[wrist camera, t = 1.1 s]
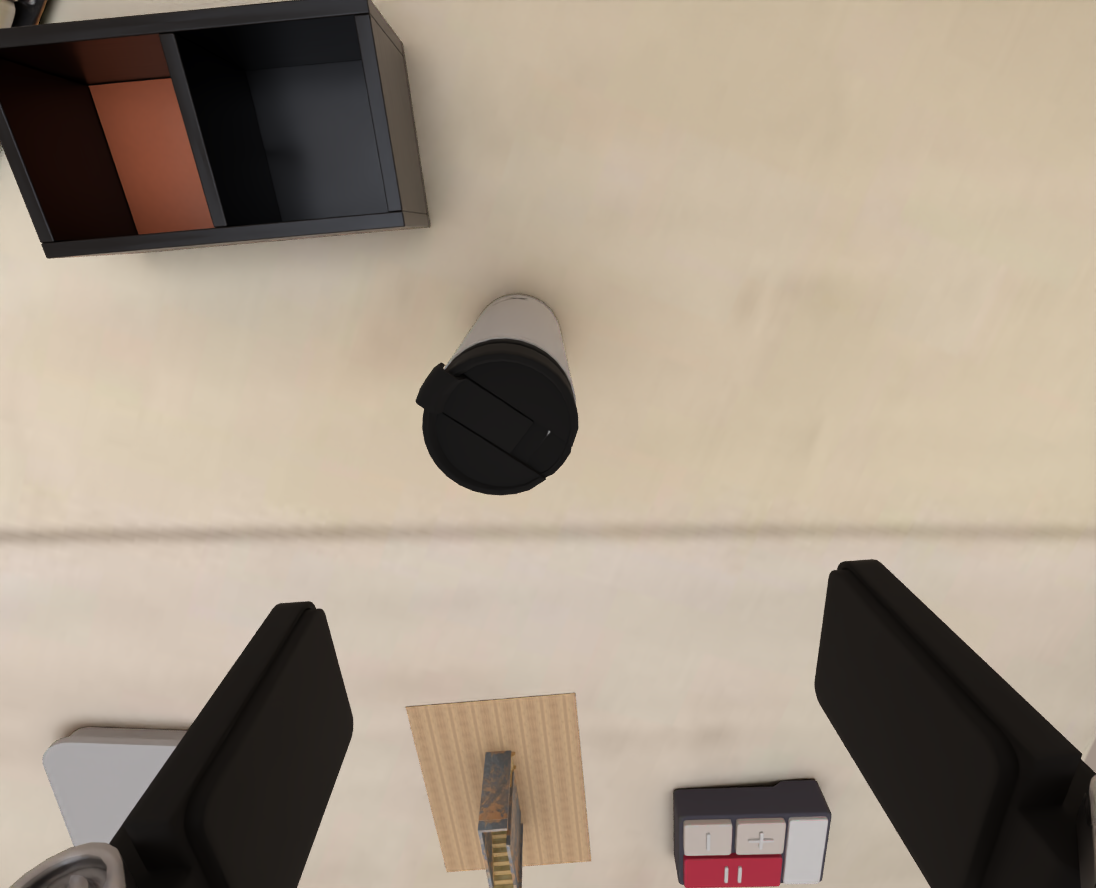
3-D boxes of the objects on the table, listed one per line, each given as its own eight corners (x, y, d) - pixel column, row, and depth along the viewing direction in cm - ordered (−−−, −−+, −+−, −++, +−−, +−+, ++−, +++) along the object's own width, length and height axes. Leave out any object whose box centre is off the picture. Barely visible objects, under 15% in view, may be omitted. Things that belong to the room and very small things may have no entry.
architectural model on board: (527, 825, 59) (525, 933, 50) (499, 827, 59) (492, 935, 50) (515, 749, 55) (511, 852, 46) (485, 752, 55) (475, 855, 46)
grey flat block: (114, 890, 62) (99, 913, 60) (54, 720, 52) (34, 741, 50) (259, 893, 63) (250, 917, 60) (227, 726, 53) (214, 747, 51)
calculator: (679, 824, 54) (836, 820, 53) (672, 783, 58) (817, 778, 57) (680, 893, 58) (825, 891, 57) (672, 850, 62) (808, 847, 61)
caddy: (78, 73, 33) (-45, 32, 26) (402, 42, 33) (366, -8, 26) (139, 253, 37) (46, 258, 30) (430, 227, 37) (405, 226, 30)
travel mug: (503, 271, 38) (469, 313, 19) (578, 328, 39) (614, 416, 21) (454, 344, 40) (380, 446, 21) (528, 395, 41) (520, 532, 23)
